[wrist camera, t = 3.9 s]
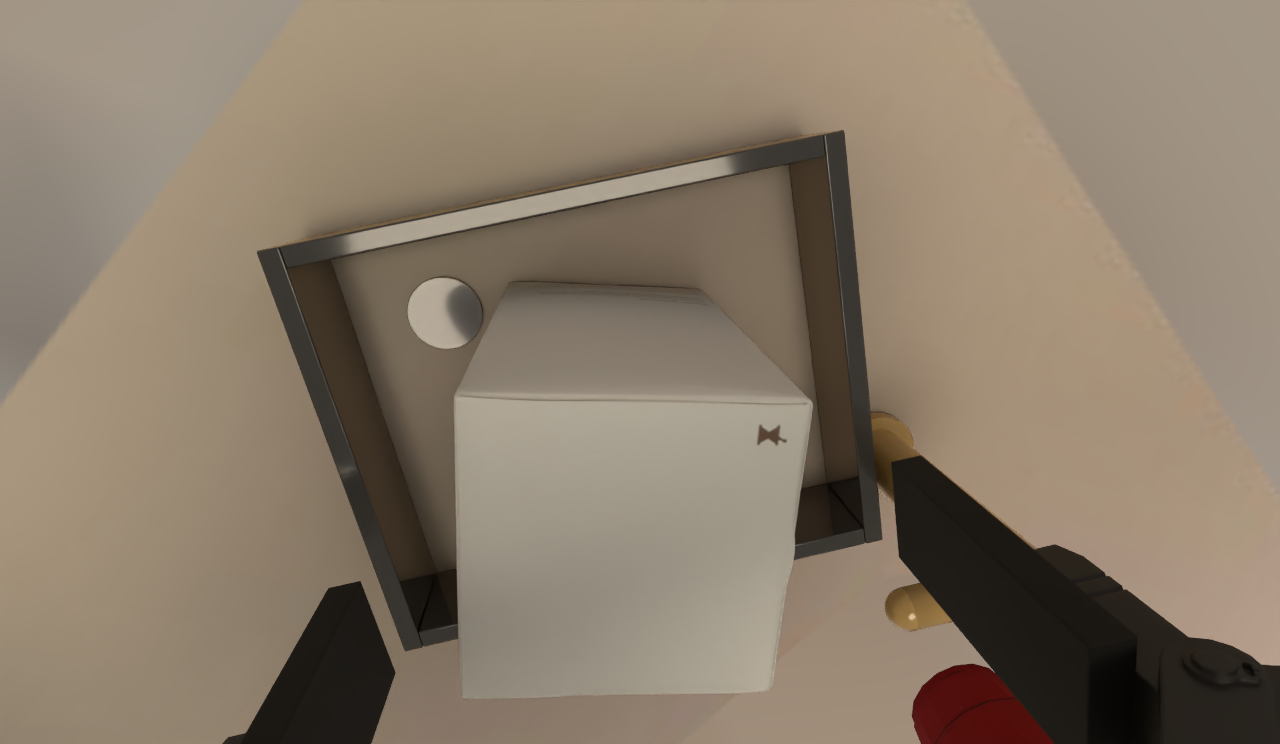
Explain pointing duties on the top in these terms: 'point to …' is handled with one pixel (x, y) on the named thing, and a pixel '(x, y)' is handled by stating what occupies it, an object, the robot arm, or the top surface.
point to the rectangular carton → (622, 497)
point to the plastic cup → (972, 710)
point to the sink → (455, 317)
